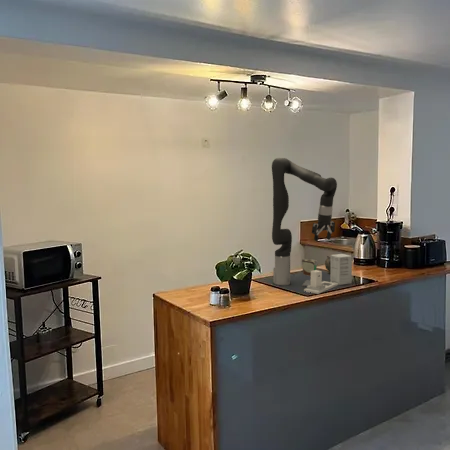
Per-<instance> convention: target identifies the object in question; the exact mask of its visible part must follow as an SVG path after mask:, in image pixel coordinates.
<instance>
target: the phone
mask: <svg viewBox="0 0 450 450" xmlns="http://www.w3.org/2000/svg"><path fill="white" fill-rule="evenodd" d="M309 285H311V279H305V280H304V282H303V283H302V284H301V287H302V288H307V286H309Z"/></svg>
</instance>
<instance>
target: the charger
mask: <svg viewBox="0 0 450 450" xmlns="http://www.w3.org/2000/svg"><path fill="white" fill-rule="evenodd" d="M322 278H323V271H322V270H318V269H316V270H314V271H311V276H310V280H311V287H317V288H319V287H321V286H322V282H323V279H322Z"/></svg>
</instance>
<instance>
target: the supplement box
mask: <svg viewBox="0 0 450 450" xmlns="http://www.w3.org/2000/svg"><path fill="white" fill-rule="evenodd" d="M330 257H331V275H330V279H329V280H330V281H329V282H332V281H333V282H334V283H338V285H337V286H340V285H349V284H351V285H352V280H353V275H352V273H353V272H352V271H353V269H352V267H353V262H352V261H353V260H352V259H353V256H352V255H349V254H345V253H339V254H338V253H337V254H330Z"/></svg>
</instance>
